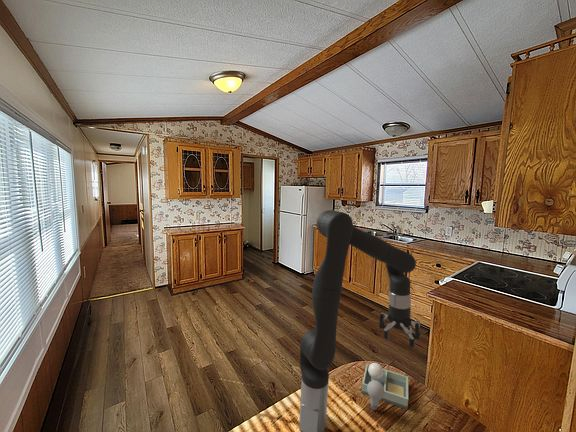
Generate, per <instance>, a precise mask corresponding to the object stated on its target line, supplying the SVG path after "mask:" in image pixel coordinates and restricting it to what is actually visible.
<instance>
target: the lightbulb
mask: <svg viewBox="0 0 576 432" xmlns="http://www.w3.org/2000/svg"><path fill="white" fill-rule="evenodd" d="M367 391H368V394H369V401H370V408H371V409H372V410H374V411H377V410H378V409H379V408H378V407H379V405H380V401H382V400H381V399H382V398H383V396H384V387H383V385H382V384H381V383H380V382H378V381H376V380H373V381H370V382H369V384H368V386H367Z"/></svg>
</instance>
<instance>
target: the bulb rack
mask: <svg viewBox="0 0 576 432" xmlns="http://www.w3.org/2000/svg"><path fill="white" fill-rule="evenodd" d="M364 368H365V369H364V374H363V378H362V383H361V394H363V395H366V396H369V394H368V391H367V386H368V384H369V382H370V381H373V380H376V381H378V382H380V383H381V384H382V385H383V387H384V396H383V398H382V399H381V400H380V401H382V402H385V403H388V404H391V405H394V406H396V407H399V408H401V409H404V410H408V406H409V405H408V404H409V376H408V375H405V374H404V375H403V374H401V373H397V372H396V371H395V372H394V371H391V370H388V369H386V368H385V369H384V368H383V367H382V365H380V364H379V363H377V362H372V363H370V364H369V363H366V364H365V367H364ZM369 397H370V396H369Z"/></svg>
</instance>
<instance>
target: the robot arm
mask: <svg viewBox="0 0 576 432" xmlns="http://www.w3.org/2000/svg"><path fill="white" fill-rule="evenodd" d="M353 222H354V221H353V219H352V217H351V216H350V215H349V214H347V213H346V212H342V211H338V210H333V209H329V210H325V211H323V212H320V213H319V215H318V217H317V219H316V228H317V230H318V232H319V234H321V236H322V237H325V238H326V249H325V253H324V258H323V260H322V262H321V264H320V265H319V267H318V269H317V270H316V272H315V275H314V279H313V284H312V291H311V292H312V293H311V302H312V303H311V304H312V309H313V313H314V319H315V329H309V330H308V331H306V332H305V333H304V335H303V337H302V338H301V342H300V346H299V368H300V372H301V385H300V387H301V388H300V403H299V404H300V406H299V431H301V432H324V431H325V430H326V426H327V412H328V411H327V409H328V408H327V407H328V395H329V383H330V382H329V381H330V380H329V379H330V373H329V370H328V368H329V367H330V366H331V365H332V363H333V361H334V360H335V355H336V349H337V348H336V347H337V346H336V344H337V343H336V342H337V327H338V325H337V324H338V319H339V318H338V317H339V307H340V302H341V297H342V295H341V294H342V291H343V282H344V281H343V280H344V274H345V269H346V268H345V267H346V261H347V256H348V252H349V248H350V246H352V247H354V249H355V248H356V249H357V250H359V251H361V252H362V253H364V254H366V255H368V256H370V258H373V259H375V260H376V261H379V262H382V263H385V267H386V271H387V276H388V278H389V294H388V314H387V313H386V312H384V311H382V312H381V313H380V315H379V324H378V327H379V329H382V330H383V331H384V332H383V334H384V339H385V340H386V341H389V339H390V329H391V328H394V329H396V330H400V331H404V332H405V334H406V335H408V336H409V348H414V346H415V343H416V342H415V341H416V340H420V338H421V322H420V321H419V320H416V321H414V320H412V318H411V314H412V313H411V309H412V306H411V305H412V299H411V298H412V297H411V280H410V278H409V277H408V276H407V275H406V274H408V273H412V272H413V271H414V270H415V269H416V266H417V261H416V259H415V257H414V256H413V255H412V254H411V253H409V252H407V251H406V250H405V251H404V250H402V249H400V248H397V247H395V246H394V245H392V244H391V243H389V242H387V241H385V240H384V239H381V238H380V237H377V235H374V234H371V233H368V232H366V231H365V230H361V229H359V228H357V227H355V226H354V223H353ZM386 319H387V320H388V321H389V322H388V323H387V324H385V321H386ZM411 325H412V326H413V328H414V330H413V328H412V327H411ZM414 331H415V332H414Z"/></svg>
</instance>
